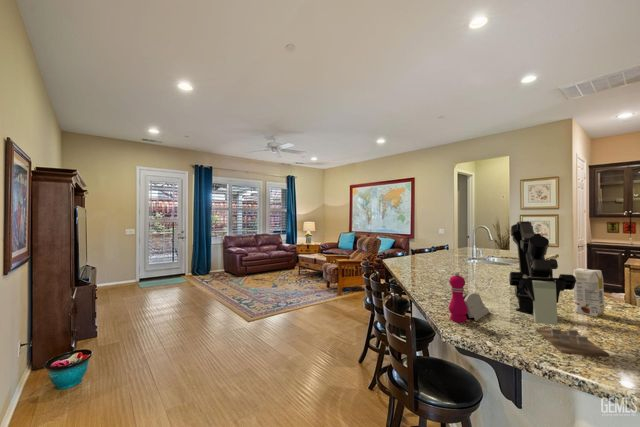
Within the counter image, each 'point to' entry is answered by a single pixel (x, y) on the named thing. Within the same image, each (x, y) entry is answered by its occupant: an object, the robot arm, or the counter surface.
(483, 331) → the counter surface
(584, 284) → the juice carton
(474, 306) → the grey rounded slab
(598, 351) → the plate
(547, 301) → the door
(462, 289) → the pepper mill
